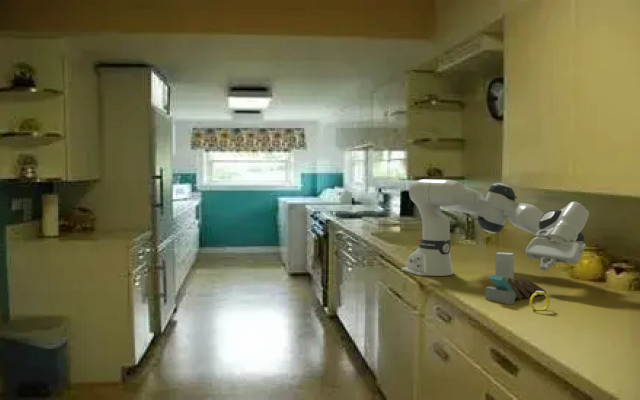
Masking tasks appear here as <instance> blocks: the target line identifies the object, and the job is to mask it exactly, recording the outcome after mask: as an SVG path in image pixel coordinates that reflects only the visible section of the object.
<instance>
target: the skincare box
mask: <svg viewBox="0 0 640 400" xmlns="http://www.w3.org/2000/svg"><path fill="white" fill-rule="evenodd" d="M494 255H495V259H494V260H495V263H494V264H495V267H494V269H495V274H494V275H498V276H504V277H509V278H511V279H515V278H514V277H515V276H514V275H515V270H514V269H515V268H514V267H515V257H514V256H515V253H513V252H496V253H495V254H494Z"/></svg>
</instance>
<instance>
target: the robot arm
mask: <svg viewBox="0 0 640 400" xmlns="http://www.w3.org/2000/svg"><path fill="white" fill-rule="evenodd" d="M408 189H409V190H408V195H409V198H410V200H411V201H412V203H414V204H415V206H416V207H417V209H418V212H419V215H420V218H421V225H422V227H421V229H422V230H421V232H422V233H421V235H422V239H420V240H419V239H418V240H417V244H419V246H418V248H417V249H416V250H415V251H413V253H411V254H410V255H408V257H407V261H406V262H407V265H406V266H403V267H401V271H403V272H406V273H410V274H413V275H417V276H432V277H439V276H440V277H441V276H442V277H443V276H444V277H445V276H451V275H454V272H453V266H452V259H451V258H452V257H451V247H452V246H451V245H452V243H451V239H450V232H451V231H450V230H451V226H450V225H451V223H450V220H449V219H448V218H449V217H446V216H445V215H444V213H443V212H442V209H441V207H443V208H446V209H448V210H451V211H454V212H460V213H464V214H474V215H476V216H477V217H475V220H476V221H477V223H478V226H479V227H480V228H481V229H482V230H483V231H485V232H487V233H489V234H499V233H501V232H502V231H503V229H504V227H505V223H506V221H507V219H508V222H510V224H512V225H513V227H516V228H517V229H519V230H522V231H525V232H527V233H530V234H532V235H534V236H536V237H533V238H532V239H531V240H530V242H529V244H528V245H527V247H526V248H525V254H526V256H527V257H528V258H529V259H531V260H540V264H539V269H540V270H541V271H550V269H551V268H552V267H554V266H556V264H557V263H559V264H566V265H571V266H576V265H578V264H579V263H580V261H581V258H582V256H583V252H584V251H585V249H586V247H587V245H586V243H585V241H586V238H585V234H584V233H583V232H582V230H583V229H584V227H585V225H586V223H587V222H588V220H589V216H590V211H589V210H588V208H587V207H586V206H585V205H583V204H582V203H580V202H577V201H571V202H569V203H568V204H567V205H566V206H565V207H562V208H561V209H553V210H552V209H551V210H547V211H546V212H543V211H542V210H540V209H539V208H538V207H537V206H535V205H534V204H530V203H525V202H518V201H516V199H518V196H516V194H515V191H514V189H513V188H512V187H510V185H507V184H506V183H504V182H503V183H501V182H497V183H492V184H491V185H490V186H489V188H488V192H487V194H486V197H484V195H483V194H482V193H481V192H480V191H478V190H475V189H474V188H471V187H468V186H464V184H463V183H462V182H459V181H457V180H452V179H436V178H434V179H433V178H432V179H431V178H428V179H427V178H423V179H418V180H414V181H412V183H411V184H410V186H409V188H408Z"/></svg>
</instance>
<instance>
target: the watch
mask: <svg viewBox="0 0 640 400" xmlns="http://www.w3.org/2000/svg"><path fill="white" fill-rule="evenodd" d="M537 294H538V295H540V296H545V298H546V303H545V306H544V307H541V308H536V307H534V305H533V300H534V298H536V297H535V296H536V295H537ZM550 303H551V302H550V298H549V296H548V294H546V293H545V292H544V291H535V293H534V294H532V296H529V305H530V308H531V309H532V310H534V311H535V310H539V311H541V310H542V311H544V310H545V311H546V310H547V309H548V308H549V306H550Z"/></svg>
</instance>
